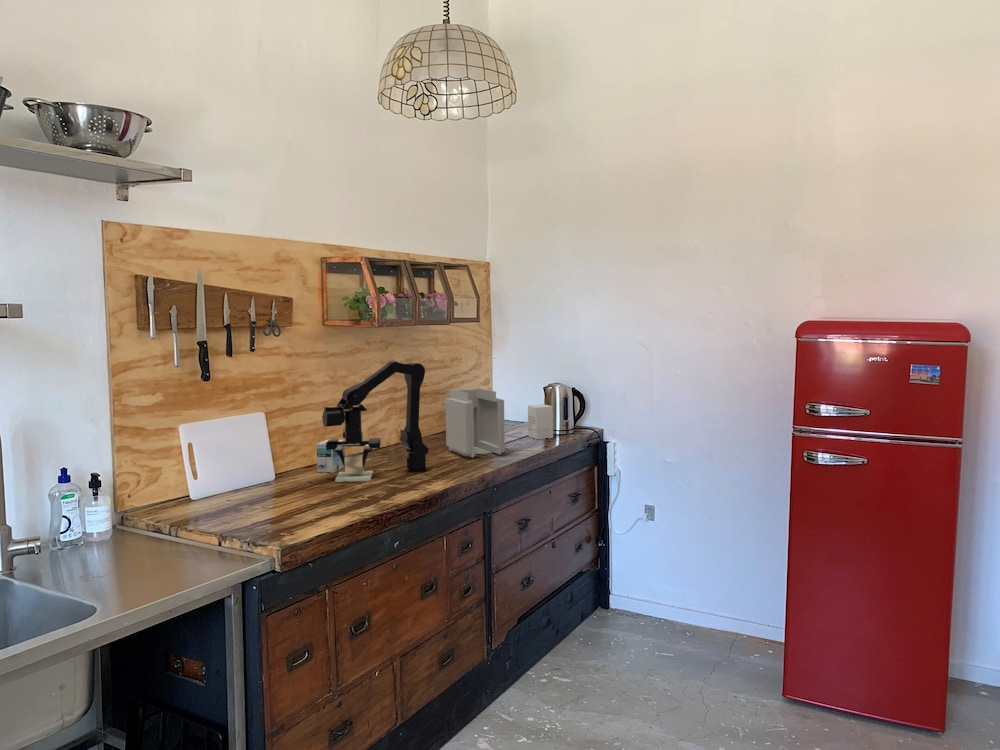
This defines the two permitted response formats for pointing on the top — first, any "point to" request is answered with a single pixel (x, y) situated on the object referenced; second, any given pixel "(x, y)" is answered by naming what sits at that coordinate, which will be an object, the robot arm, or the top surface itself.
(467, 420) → the gray open cabinet
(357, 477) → the sage board
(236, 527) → the top surface
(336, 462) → the light bulb box
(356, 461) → the birch cube
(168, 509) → the top surface
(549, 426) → the supplement box
